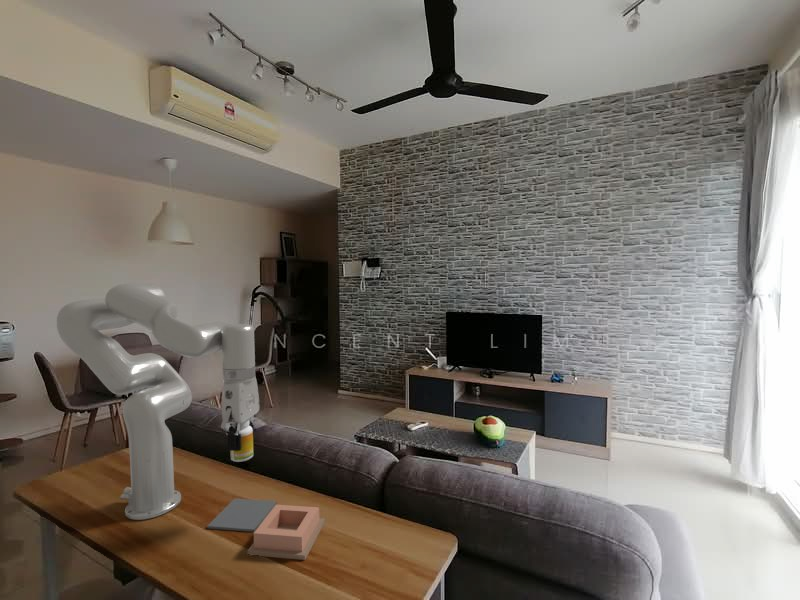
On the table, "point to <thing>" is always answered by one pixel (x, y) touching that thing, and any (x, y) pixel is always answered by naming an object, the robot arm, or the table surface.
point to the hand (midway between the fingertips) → (241, 444)
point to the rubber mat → (243, 515)
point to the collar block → (287, 532)
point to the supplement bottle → (244, 443)
